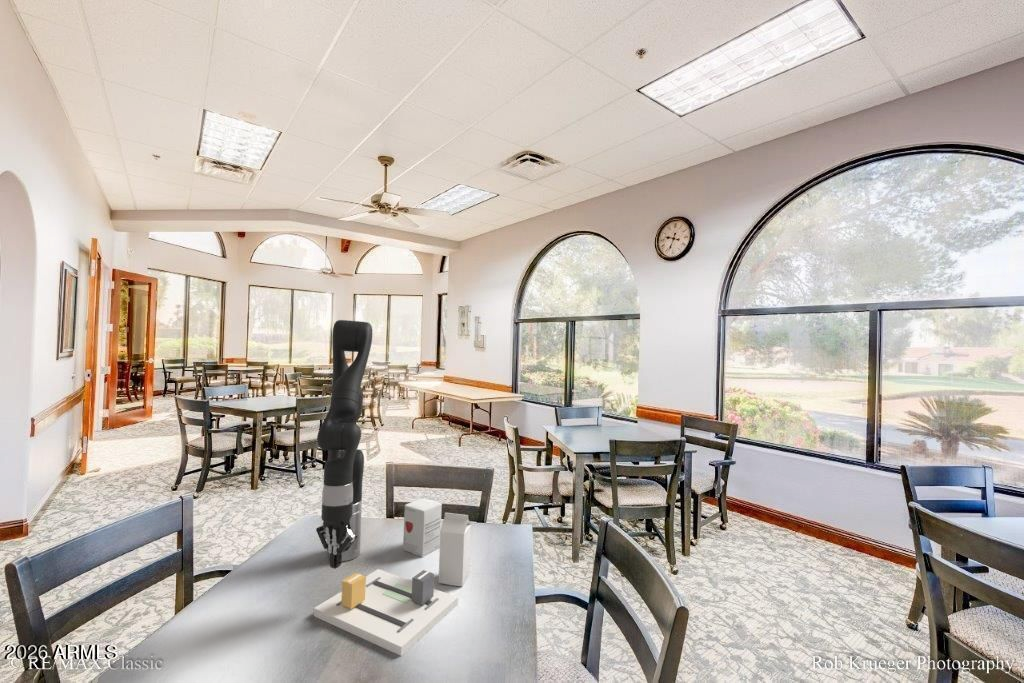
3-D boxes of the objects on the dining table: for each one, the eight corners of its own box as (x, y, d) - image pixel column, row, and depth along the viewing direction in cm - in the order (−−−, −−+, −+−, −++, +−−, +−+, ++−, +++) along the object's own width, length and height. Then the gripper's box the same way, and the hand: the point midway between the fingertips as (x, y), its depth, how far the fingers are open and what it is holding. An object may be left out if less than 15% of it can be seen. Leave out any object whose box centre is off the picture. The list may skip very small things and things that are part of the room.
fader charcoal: (411, 601, 114) (412, 577, 114) (422, 592, 118) (423, 569, 118) (422, 605, 112) (423, 581, 112) (433, 596, 116) (434, 573, 116)
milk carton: (462, 587, 126) (464, 520, 126) (438, 583, 127) (440, 517, 127) (469, 574, 133) (471, 510, 133) (446, 571, 134) (449, 508, 134)
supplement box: (401, 550, 146) (403, 504, 146) (420, 540, 154) (422, 496, 154) (422, 558, 142) (424, 510, 142) (441, 547, 149) (442, 502, 149)
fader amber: (341, 604, 111) (342, 580, 111) (355, 595, 115) (355, 572, 115) (351, 608, 110) (352, 584, 110) (365, 599, 114) (365, 575, 114)
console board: (313, 616, 110) (314, 606, 110) (378, 575, 130) (378, 568, 130) (401, 656, 98) (401, 645, 98) (457, 604, 117) (458, 596, 117)
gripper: (307, 499, 115) (305, 566, 115) (344, 509, 110) (342, 580, 109) (331, 491, 122) (329, 555, 122) (367, 500, 116) (365, 567, 116)
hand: (335, 566), depth 116 cm, fingers closed
